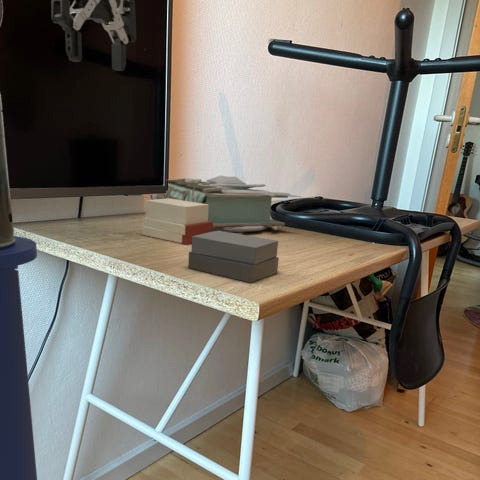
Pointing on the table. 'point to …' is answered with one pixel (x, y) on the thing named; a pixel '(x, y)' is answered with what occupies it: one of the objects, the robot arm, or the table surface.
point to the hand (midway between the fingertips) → (97, 65)
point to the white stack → (174, 230)
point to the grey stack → (234, 255)
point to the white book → (177, 211)
